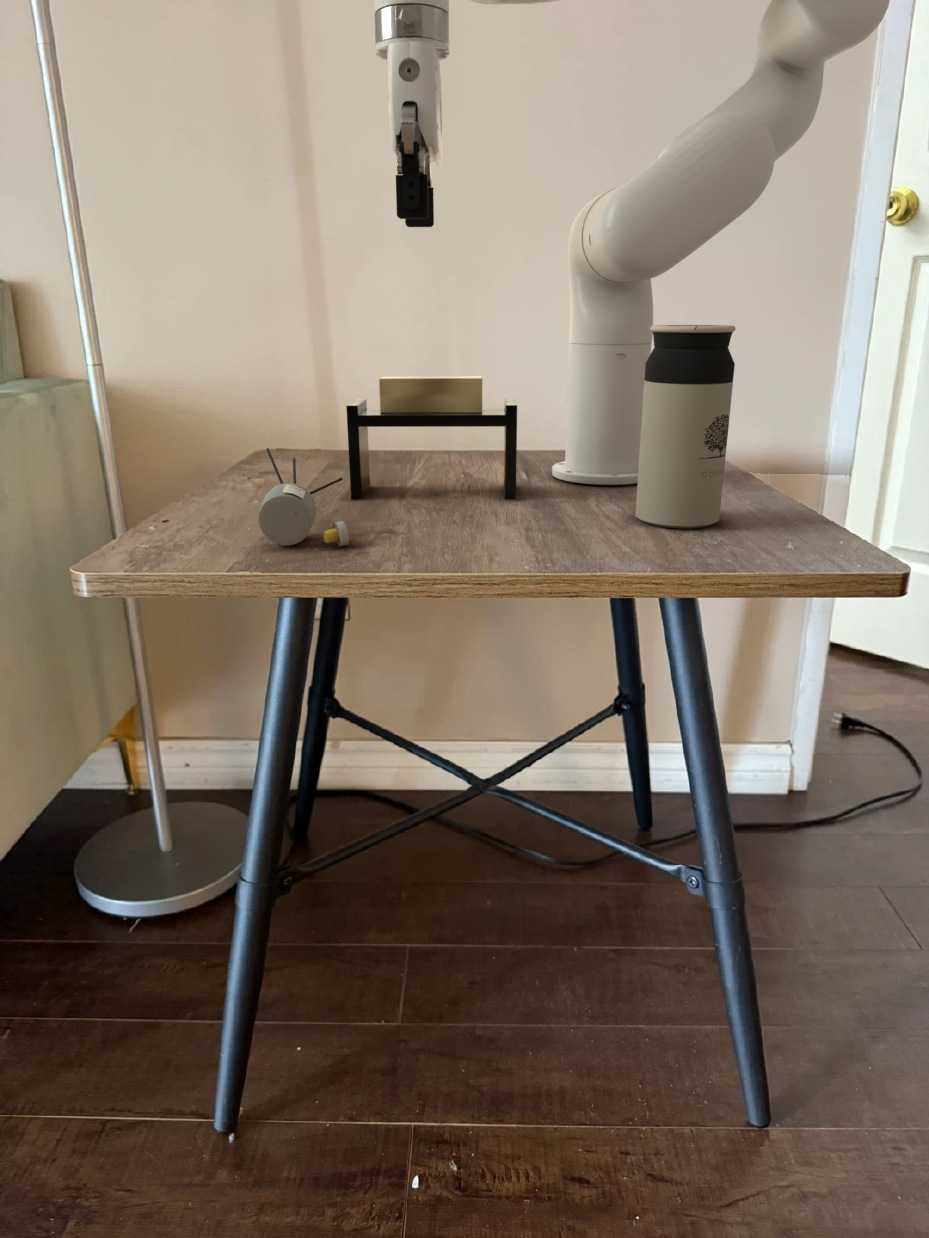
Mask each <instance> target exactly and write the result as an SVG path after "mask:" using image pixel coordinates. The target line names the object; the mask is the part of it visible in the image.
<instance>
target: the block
mask: <svg viewBox="0 0 929 1238" xmlns="http://www.w3.org/2000/svg"><path fill="white" fill-rule="evenodd" d="M378 384H379V385H378V386H379V387H378V388H379V391H378V392H379V408H380V413H482V408H483V376H482V375H467V376H465V375H459V376H458V375H456V376H455V375H450V376H449V375H447V376H445V375H444V376H443V375H437V376H435V375H434V376H433V375H432V376H431V375H429V376H428V375H427V376H424V375H423V376H421V375H420V376H418V375H417V376H415V375H414V376H407V375H406V376H405V375H404V376H381V377H380V378H378Z"/></svg>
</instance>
